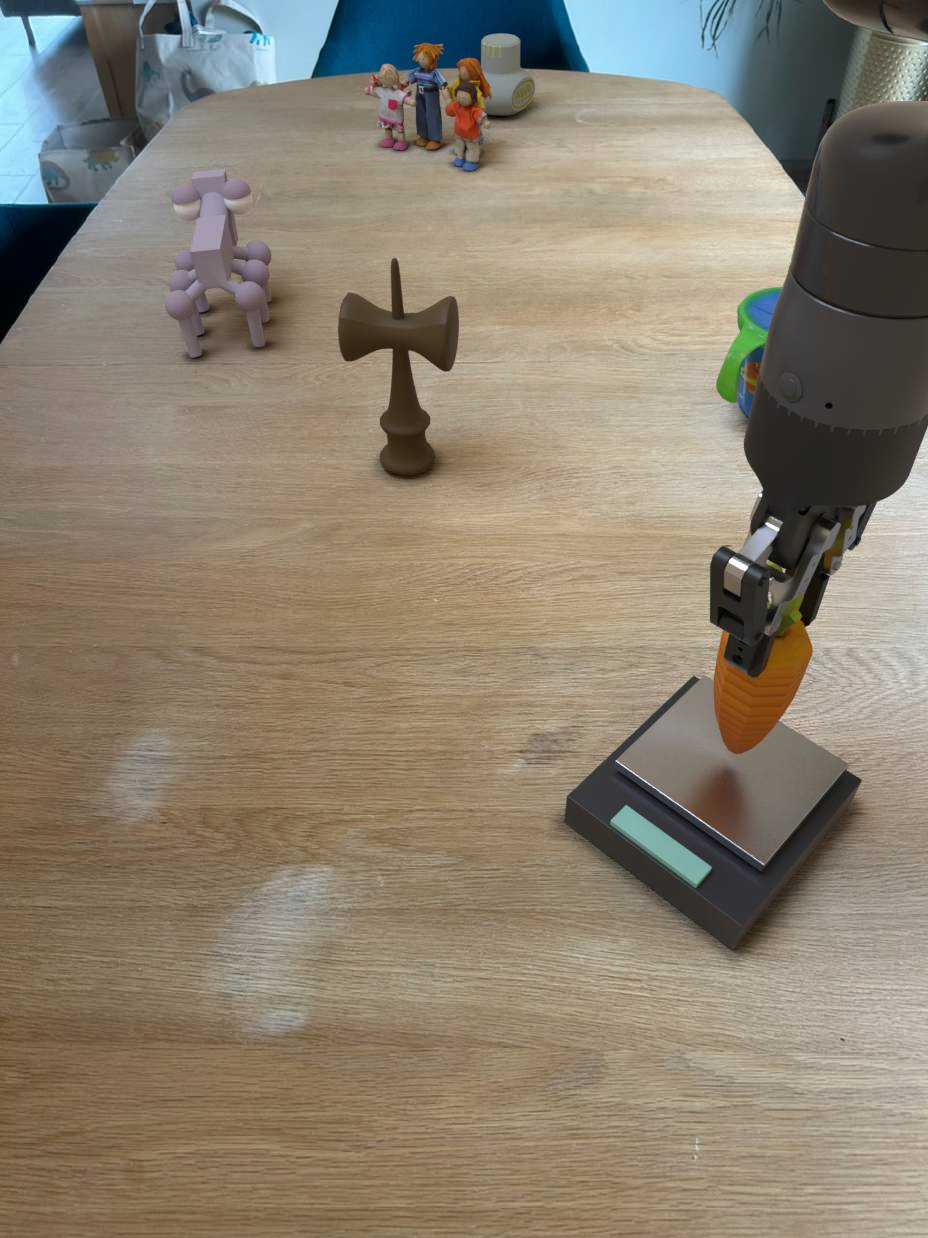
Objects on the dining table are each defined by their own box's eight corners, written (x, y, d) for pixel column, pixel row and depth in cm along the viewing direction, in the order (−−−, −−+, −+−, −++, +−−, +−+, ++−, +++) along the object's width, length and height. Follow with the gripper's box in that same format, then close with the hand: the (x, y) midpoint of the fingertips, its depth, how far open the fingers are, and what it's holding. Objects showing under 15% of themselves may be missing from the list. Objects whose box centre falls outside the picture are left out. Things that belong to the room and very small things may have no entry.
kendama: (453, 487, 90) (448, 279, 76) (349, 478, 91) (325, 271, 77) (463, 448, 94) (460, 243, 80) (364, 440, 96) (343, 237, 81)
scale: (687, 702, 73) (694, 670, 70) (850, 805, 66) (864, 775, 64) (563, 822, 66) (566, 791, 63) (732, 951, 59) (743, 923, 57)
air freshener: (504, 126, 151) (505, 53, 144) (458, 115, 155) (457, 44, 147) (540, 104, 158) (543, 33, 151) (495, 94, 161) (496, 24, 154)
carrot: (768, 793, 61) (829, 622, 50) (687, 770, 62) (729, 599, 51) (780, 732, 64) (839, 558, 53) (703, 711, 65) (745, 538, 54)
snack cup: (802, 361, 104) (826, 269, 97) (873, 413, 98) (904, 318, 90) (677, 400, 100) (693, 306, 92) (743, 457, 93) (765, 360, 86)
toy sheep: (192, 273, 120) (167, 156, 110) (282, 268, 120) (264, 151, 111) (174, 361, 106) (142, 236, 96) (275, 355, 106) (254, 231, 97)
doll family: (364, 143, 147) (356, 44, 138) (403, 123, 153) (398, 26, 143) (483, 175, 139) (483, 71, 129) (520, 152, 144) (523, 51, 135)
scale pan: (702, 682, 69) (704, 674, 69) (846, 771, 64) (849, 763, 63) (613, 768, 64) (614, 760, 64) (761, 872, 59) (764, 865, 58)
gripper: (845, 485, 38) (757, 754, 50) (1004, 340, 45) (893, 607, 57) (681, 409, 42) (636, 677, 54) (852, 286, 49) (778, 547, 61)
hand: (769, 640), depth 56 cm, fingers closed on carrot, 4 cm apart
